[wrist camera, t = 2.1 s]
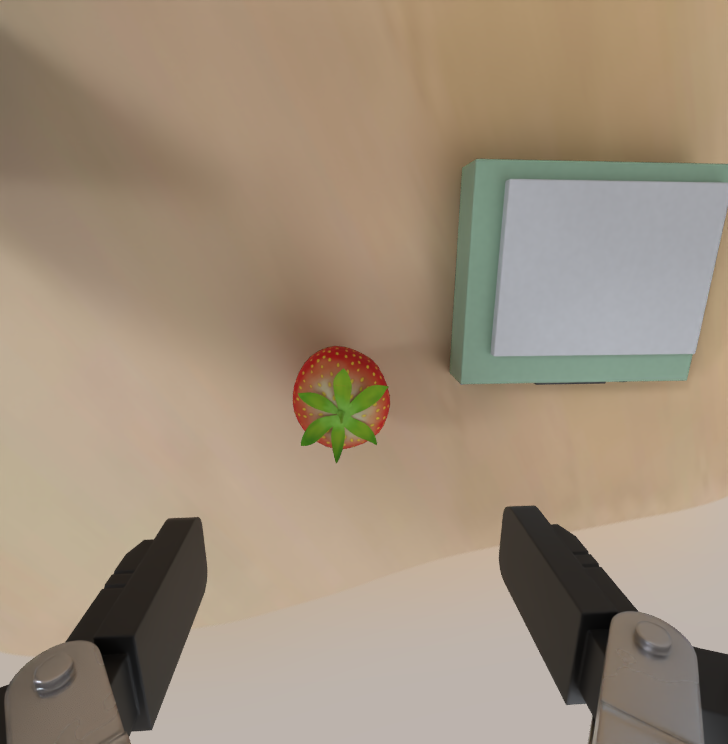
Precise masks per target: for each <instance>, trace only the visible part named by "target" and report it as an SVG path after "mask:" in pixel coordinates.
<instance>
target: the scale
mask: <svg viewBox="0 0 728 744" xmlns="http://www.w3.org/2000/svg"><path fill="white" fill-rule="evenodd" d="M727 208H728V164H705V163H656V162H607V161H559V160H510V159H476V160H474V161H473V162H471V163H469V164H468V165H466V166H465V167H463V168H462V179H461V195H460V211H459V227H458V243H457V259H456V275H455V292H454V308H453V324H452V340H451V356H450V374H451V375H452V376H453V377H454V378H455V379H456V380H457V381H458V382H459V383H460V384H505V383H534V384H536V385H542V384H600V383H606V382H627V381H683V380H687V377H688V373H689V368H690V364H691V359H692V355H693V354H695V352H696V347H697V343H698V338H699V334H700V329H701V325H702V320H703V316H704V311H705V307H706V302H707V298H708V293H709V289H710V284H711V280H712V275H713V271H714V266H715V262H716V257H717V253H718V248H719V244H720V239H721V235H722V230H723V226H724V222H725V217H726V213H727Z"/></svg>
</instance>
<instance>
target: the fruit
mask: <svg viewBox="0 0 728 744" xmlns="http://www.w3.org/2000/svg"><path fill="white" fill-rule="evenodd" d="M389 406H390V395H389V391H388V386H387V384H386V381H385V379H384V376H383V374H382V373H381V371H380V369H379V367H378V366H377V365H376V363H375V362H374V361H373V360H372V359H370V358H369V357H367V356H365V355H364V354H362V353H360V352H358V351H356V350H353V349H350V348H347V347H340V346H333V347H327V348H325V349H322V350H320V351H318V352H316V353H315V354H313V355H312V356H311V357H310V358H309V359H308V360H307V361H306V362H305V363H304V365H303V366H302V368H301V370H300V372H299V374H298V376H297V379H296V382H295V385H294V391H293V407H294V412H295V415H296V417H297V420H298V422H299V423H300V425H301V426H302V428H303V429H304V430H305V433H304V435H303V437H302V440H301V446H308V445H311V444H313V443H315V442H316V441H317V442H319V443H320V444H322V445H324V446H326V447H330V448H333V453H334V458H335V462H336V463H337V462H338V460H339V458H340V455H341V452H342V449H347V448H351V447H355V446H357V445H360V444H363V443H365V442H366V441H370V442H372V443H374V444H375V445H377V442H376V438H375V435H376V434H378V433H379V432H380V430H381V429H382V427H383V426H384V424H385V421H386V418H387V415H388V412H389Z"/></svg>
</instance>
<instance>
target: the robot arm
mask: <svg viewBox="0 0 728 744" xmlns="http://www.w3.org/2000/svg"><path fill="white" fill-rule="evenodd" d="M499 564H500V570H501V575H502V578H503V580H504V582H505V585H506V586H507V588H508V590H509V592H510V594H511V596H512V598H513V600H514V602H515V604H516V606H517V608H518V610H519V612H520V614H521V616H522V618H523V620H524V622H525V624H526V626H527V628H528V630H529V632H530V634H531V636H532V638H533V640H534V642H535V644H536V646H537V648H538V650H539V652H540V654H541V656H542V658H543V660H544V662H545V663H546V666H547V668H548V670H549V672H550V674H551V676H552V678H553V679H554V682H555V684H556V685H557V687H558V689H559V691H560V693H561V695H562V697H563V699H564V701H565V703H566V705H571V704H587V706H588V708H589V709H590V711H591V713H592V715H593V716H592V721H591V726H590V733H589V739H588V744H728V654H723V653H719V652H714V651H710V650H705V649H700V648H696V647H693V646H692V645H691V644H690V642H689V641H688V640H687V639H686V638H685V637H684V636H683V635H682V634H681V633H680V632H679V631H678V630H677V629H675V628H674V627H673V626H671V625H669V624H668V623H666V622H664V621H663V620H661V619H659V618H656V617H654V616H652V615H649V614H645V613H641V612H638V610H637V609H636V608H635V607H634V606H633V605H632V603H631V602H630V601H629V600H628V599H627V597H626V596H625V595H624V594H623V593H622V591H621V590H620V589H619V588H618V587H617V586H616V584H615V583H614V582H613V581H612V579H611V578H610V577H609V576H608V575H607V573H606V572H605V571H604V570H603V569H602V567H599V564H598V563H597V561H596V560H595V559H594V558H593V557H592V555H591V554H588V551H587V550H586V548H585V547H584V546H583V545H582V544H581V542H580V541H579V540H578V539H577V537H576V536H574V535H573V534H571V533H570V532H568V531H567V530H565V529H564V528H562V527H561V526H559V525H558V524H553V525H551V524H550V523H549V522H548V521H547V519H546V518H545V517H544V515H543V514H542V513H541V512H540V510H539V509H538V508H537V507H536V506H510V507H506V508H505V509H504V512H503V520H502V530H501V540H500V550H499ZM206 583H207V561H206V553H205V545H204V536H203V528H202V522H201V519H200V518H199V517H193V518H169V519H167V520H166V522H165V523H164V525H163V526H162V528H161V529H160V531H159V533H158V534H157V536H156V537H155V539H154V540H144V541H142V542H141V543H140V544H139V545H137V546H136V547H135V548H133V549H132V550H131V551H130V552H128V553H127V554H126V555H125V556H124V558H123V559H122V561H121V562H120V564H119V565H118V567H117V568H116V570H115V571H114V575H111V577H110V578H109V580H108V581H107V583H106V584H105V587H104V589H102V590H101V591H100V593H99V594H98V596H97V597H96V599H95V600H94V601H93V603H92V604H91V606H90V607H89V609H88V610H87V612H86V613H85V615H84V616H83V617H82V619H81V620H80V622H79V623H78V625H77V626H76V628H75V629H74V630H73V632H72V633H71V635H70V636H69V638H68V639H67V641H66V642H65V643H62V644H59V645H57V646H54V647H52V648H50V649H48V650H46V651H44V652H42V653H41V654H39V655H38V656H36V657H35V658H33V659H32V660H31V661H30V662H28V663H27V664H26V665H25V666H24V667H23V668H21V669H20V671H19V672H18V673H17V674H16V675H15V676H14V678H13V679H12V681H11V682H10V684H9V685H6V686H3V687H1V688H0V744H131V743H130V740H129V736H130V733H131V731H146V730H152V728H153V725H154V723H155V720H156V718H157V715H158V712H159V710H160V707H161V704H162V702H163V699H164V697H165V694H166V691H167V689H168V686H169V684H170V681H171V679H172V676H173V673H174V671H175V668H176V666H177V663H178V660H179V658H180V655H181V653H182V650H183V647H184V645H185V642H186V640H187V637H188V634H189V632H190V629H191V627H192V624H193V621H194V619H195V616H196V614H197V611H198V608H199V606H200V603H201V600H202V598H203V595H204V592H205V588H206Z"/></svg>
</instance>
